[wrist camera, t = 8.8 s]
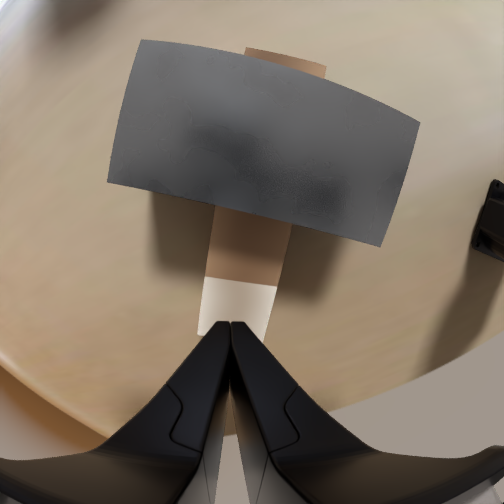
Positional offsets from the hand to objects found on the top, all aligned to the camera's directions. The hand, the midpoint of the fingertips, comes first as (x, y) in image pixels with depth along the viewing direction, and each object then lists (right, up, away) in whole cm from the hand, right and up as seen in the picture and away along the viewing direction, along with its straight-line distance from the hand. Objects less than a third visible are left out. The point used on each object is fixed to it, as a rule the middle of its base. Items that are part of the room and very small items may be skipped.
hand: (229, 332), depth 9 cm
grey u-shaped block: (+1, +9, +8) cm, 13 cm away
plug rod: (+1, +6, +10) cm, 11 cm away
